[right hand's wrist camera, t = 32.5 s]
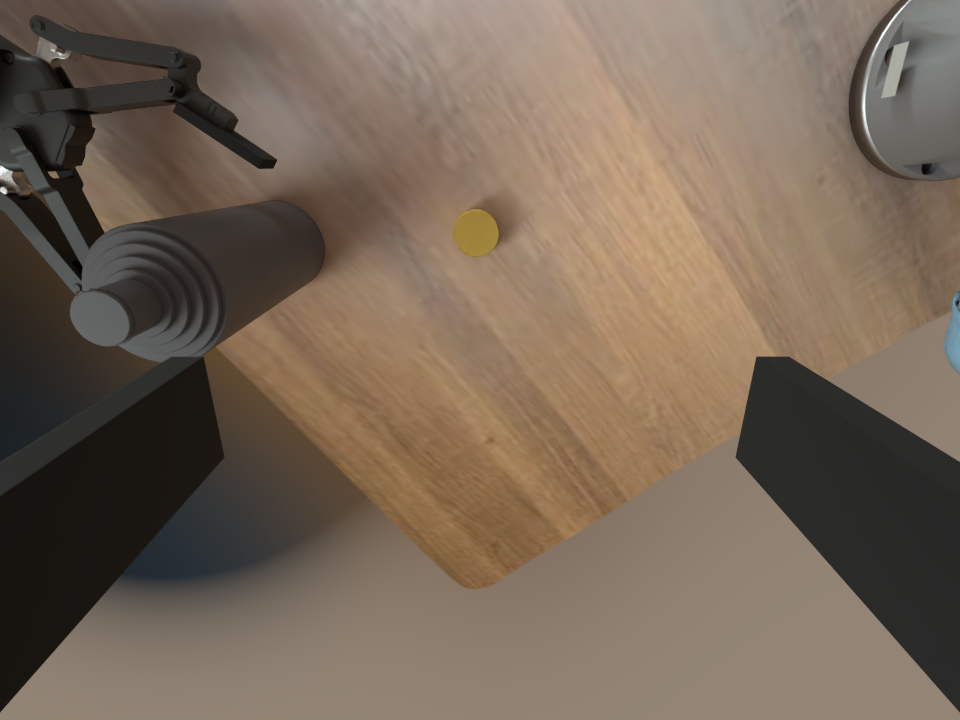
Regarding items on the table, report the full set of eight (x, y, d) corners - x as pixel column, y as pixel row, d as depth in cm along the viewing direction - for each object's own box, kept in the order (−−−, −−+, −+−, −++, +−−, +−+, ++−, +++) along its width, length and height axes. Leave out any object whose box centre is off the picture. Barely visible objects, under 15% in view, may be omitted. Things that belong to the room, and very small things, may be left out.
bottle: (318, 199, 44) (163, 232, 23) (329, 288, 47) (201, 394, 25) (228, 201, 44) (-14, 235, 23) (244, 289, 47) (43, 396, 25)
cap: (479, 199, 45) (479, 200, 43) (506, 235, 46) (508, 237, 44) (445, 228, 45) (444, 230, 44) (473, 262, 46) (472, 266, 45)
